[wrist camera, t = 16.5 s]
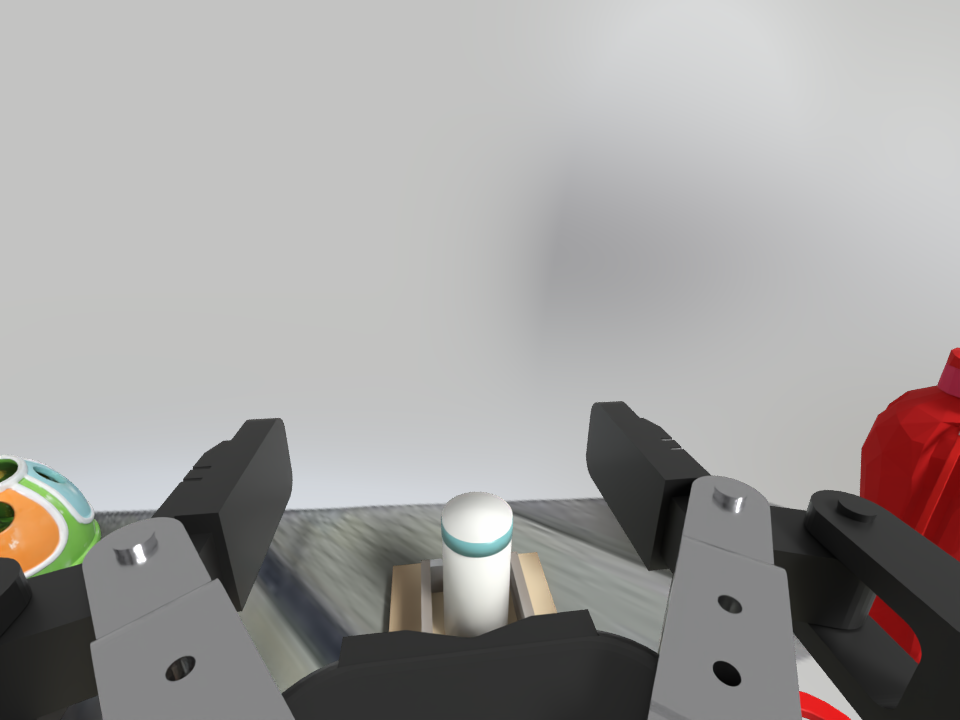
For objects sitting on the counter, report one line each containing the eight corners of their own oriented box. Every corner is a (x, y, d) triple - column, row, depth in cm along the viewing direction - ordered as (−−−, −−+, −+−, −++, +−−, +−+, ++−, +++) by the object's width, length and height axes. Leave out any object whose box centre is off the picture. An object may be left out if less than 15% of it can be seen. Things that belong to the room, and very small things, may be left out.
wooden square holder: (383, 742, 29) (379, 701, 28) (393, 574, 42) (391, 540, 41) (586, 713, 31) (591, 673, 30) (536, 560, 44) (538, 527, 43)
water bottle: (781, 639, 36) (879, 353, 28) (826, 575, 43) (919, 325, 34) (934, 743, 30) (1130, 407, 21) (962, 648, 36) (1121, 360, 27)
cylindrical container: (444, 659, 33) (441, 541, 30) (442, 600, 38) (440, 493, 35) (513, 652, 34) (519, 536, 30) (503, 595, 39) (506, 489, 35)
